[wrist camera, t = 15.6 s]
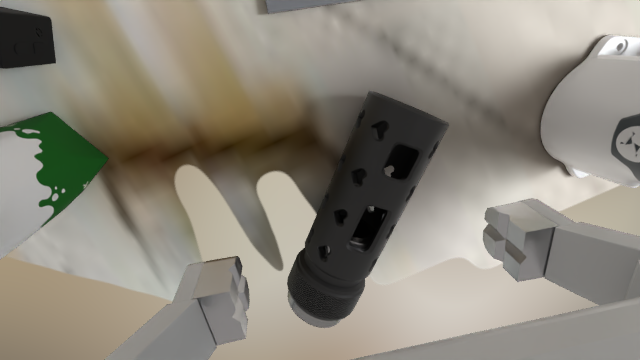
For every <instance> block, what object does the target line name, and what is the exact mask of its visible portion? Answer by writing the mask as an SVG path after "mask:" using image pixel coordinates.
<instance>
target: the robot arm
mask: <svg viewBox="0 0 640 360" xmlns="http://www.w3.org/2000/svg"><path fill="white" fill-rule="evenodd" d="M616 47H617V48H616ZM541 139H542V143H543V145H544V147H545V149H546V151H547V152H548V153H549V154H550V155H551V156H552V157H553V158H555V159H557V160H559V161H560V162H562V163H563V164H565V166H566V168H567V170H568V172H569V173H570V174H571V175H572V176H575V177H578V178H582V177H586V176H588V175H594V176H597V177H599V178H602V179H605V180H608V181H611V182H614V183H617V184H620V185H623V186H627V187H631V188H636V187H637V186H640V37H632V36H618V35H607V36H605V37H603V38H602V39H601V40H600V41H599V42H598V43H597V44H596V46H595V47H594V48H593V50H592V51H591V53H590V54H589V56H588V57H587V58H586V59H585V60H584V61H583V62H582V63H581V64H580V65H579V66H577V67H576V68H575V69H574V70H572V71H571V72H570V73H569V74H568V75H567V76H566V77H565V78H564V79H563V80H562V81H561V82H560V83H559V85H558V86H557V87H556V89H555V90H554V92H553V93H552V95H551V96H550V98H549V100H548V102H547V104H546V107H545V109H544V112H543V116H542V120H541ZM485 220H486V222H487V223H488V225H487V226H486V228H485V229H484V230H483V241H484V245H485V248H486V249H487V251H488V253H489V254H490V255H491V256H492V257H493V258H495V259H497V260H500V261H502V262H503V268H504V269H505V270H506V271H507V272H508V273H509V274H510V275H511V276H512V277H513V278H514V279H515V280H516V281H517V282H519V281H525V280H530V279H536V278H541V277H545V279H547V280H549V281H551V282H553V283H555V284H557V285H559V286H561V287H563V288H565V289H567V290H570V291H571V292H573V293H575V294H577V295H579V296H581V297H584V298H586V299H588V300H590V301H592V302H594V303H596V304H598V305H600V306H595V307H591V308H586V309H582V310H578V311H573V312H568V313H564V314H559V315H554V316H550V317H545V318H540V319H536V320H531V321H526V322H522V323H517V324H512V325H508V326H503V327H498V328H494V329H489V330H484V331H480V332H475V333H470V334H466V335H462V336H457V337H452V338H448V339H443V340H439V341H434V342H429V343H425V344H420V345H415V346H411V347H406V348H402V349H397V350H392V351H388V352H383V353H379V354H374V355H370V356H365V357H360V358H356V359H351V360H640V236H637V235H633V234H628V233H624V232H620V231H616V230H612V229H608V228H604V227H600V226H596V225H591V224H587V223H583V222H579V223H576V222H574V221H572V220H571V219H569V218H567V217H566V216H564V215H563V214H561V213H559V212H558V211H556V210H554V209H553V208H551V207H549V206H548V205H546V204H544V203H543V202H541V201H539V200H538V199H533V198H531V199H527V200H522V201H518V202H515V203H510V204H505V205H500V206H496V207H491V208H487V210H486V212H485ZM241 272H242V264H241V261H240V258H239V257H238V256H235V257H228V258H222V259H217V260H211V261H206V262H200V263H194V264H190V265H188V266H187V267H186V270H185V272H184V275H183V277H182V280H181V282H180V285H179V287H178V290H177V292H176V295H175V297H174V300H173V302H172V304H167V305H166V306H165V307H164V308H163V309H161V310H160V311H159V312H158V313H157V314H156V315H155V316H153V317H152V318H151V319H150V320H149V321H148V322H147V323H145V324H144V325H143V326H142V327H141V328H140V329H139V330H137V332H135V333H134V334H133V335H132V336H131V337H129V338H128V339H127V340H126V341H125V342H124V343H123V344H122V345H120V346H119V347H118V348H117V349H116V350H115V351H114V352H112V353H111V354H110V355H109V356H108V357H107V358H106V359H104V360H208V359H209V358H210V356H211V355H212V353H213V352H214V350H215V349H216V345H221V344H224V343H229V342H233V341H237V340H242V339H245V338H246V330H247V321H248V319H247V316H246V313H245V311H247V309H248V308H249V289H248V284H247V280H246V278H245V277H244V276H243V275H241Z"/></svg>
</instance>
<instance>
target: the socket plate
mask: <svg viewBox="0 0 640 360" xmlns="http://www.w3.org/2000/svg"><path fill="white" fill-rule="evenodd" d="M353 1H360V0H266V4H267V10H268V14H272V13H278V12H285V11H292V10H299V9H305V8H312V7H319V6H326V5H332V4H339V3H346V2H353Z"/></svg>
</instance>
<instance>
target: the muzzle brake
mask: <svg viewBox="0 0 640 360" xmlns="http://www.w3.org/2000/svg"><path fill="white" fill-rule="evenodd" d="M448 126H449V124H448V123H447V122H445V121H443V120H441V119H439V118H437V117H435V116H432V115H430V114H428V113H426V112H423V111H421V110H419V109H416V108H414V107H412V106H409V105H407V104H404V103H402V102H399V101H397V100H394V99H392V98H389V97H387V96H384V95H382V94H379V93H376V92H373V91H370V92H369V93H368V95H367V98H366V100H365V102H364V105H363V107H362V110H361V112H360V114H359V117H358V119H357V121H356V124H355V126H354V128H353V131H352V133H351V136H350V138H349V140H348V143H347V145H346V147H345V150H344V152H343V154H342V157H341V159H340V161H339V164H338V166H337V169H336V171H335V173H334V176H333V178H332V180H331V183H330V185H329V187H328V190H327V192H326V195H325V197H324V199H323V202H322V204H321V206H320V209H319V211H318V213H317V216H316V218H315V220H314V223H313V225H312V228H311V230H310V233H309V235H308V237H307V239H306V242H305V248H304V249H303V250H301V251H300V252H299V254H298V255H297V257H296V260H295V262H294V264H293V267H292V270H291V272H290V274H289V276H288V282H287V284H288V290H289V291H288V301H289V304H290V306H291V308H292V310H293V311H294V312H295V314H296V315H297V316H298V317H299V318H301V319H302V320H303V321H305V322H307V323H308V324H310V325H313V326H316V327H321V328H327V327H332V326H334V325H336V324H337V323H339V322H340V320H341V319H343V318H345V317H346V316H348V315H349V314H350V313H351V312H352V311H353V309H354V307H355V305H356V304H357V302H358V300H359V298H360V296H361V294H362V292H363V290H364V287H365V278H366V277H367V276H368V275H369V274H370V272H371V271H372V269H373V267H374V265H375V263H376V261H377V259H378V258H379V256H380V254H381V252H382V250H383V248H384V246H385V244H386V243H387V241H388V239H389V237H390V235H391V233H392V231H393V229H394V227H395V226H396V224H397V222H398V220H399V218H400V216H401V214H402V213H403V211H404V209H405V207H406V205H407V203H408V201H409V199H410V198H411V196H412V194H413V191H414V190H415V188H416V186H417V184H418V183H419V181H420V179H421V177H422V175H423V173H424V171H425V169H426V168H427V166H428V164H429V162H430V160H431V158H432V156H433V154H434V153H435V150H436V149H437V147H438V145H439V143H440V141H441V139H442V138H443V136H444V134H445V132H446V130H447V128H448ZM390 165H392V166H393V167H394V171H393V172H392V173H391V177H389V176H387V175H386V174H385V171H384V168H386V167H388V166H390ZM369 206H374V211H372V210H370V208H369Z"/></svg>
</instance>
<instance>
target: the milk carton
mask: <svg viewBox="0 0 640 360" xmlns="http://www.w3.org/2000/svg"><path fill="white" fill-rule="evenodd" d="M108 159H109V158H108V157H106V156H105V155H104V154H103V153H101V152H100V151H99V150H98V149H97V148H95V147H94V146H93V145H92V144H90V143H89V142H88V141H87V140H85V139H84V138H83V137H82V136H81V135H79V134H78V133H77V132H76V131H74V130H73V129H72V128H71V127H70V126H68V125H67V124H66V123H65V122H63V121H62V120H61V119H60V118H58V117H57V116H56V115H55V114H54V113H52V112H49V113H46V114H43V115H39V116H36V117H33V118H30V119H27V120H23V121H20V122H17V123H13V124H10V125H7V126H4V127H1V128H0V259H1V258H3V257H4V256H5V255H7V254H8V253H9V252H11V251H12V250H14V249H15V248H16V247H18V246H19V245H20V244H21V243H23V242H24V241H25V240H26V239H28V238H29V237H30V236H31V235H33V234H34V233H35V232H36V231H38V230H39V229H40V228H41V227H43V226H44V225H45V224H46V223H48V222H49V221H50V220H51V219H53V218H54V217H55V216H56V215H58V214H59V213H60V212H61V211H63V210H64V209H65V208H66V207H67V206H68V205H69V204H70V203H71V202H72V201H73V200H74V199H75V198H76V197H77V196H78V195H79V194H80V193H81V192H82V191H83V190H84V189H85V188H86V187H87V185H88V184H89V183H90V182H91V180H92V179H93V178H94V177H95V175H96V174H97V173H98V172H99V170H100V169H101V168H102V166H103V165H104V164H105V163H106V161H107V160H108Z"/></svg>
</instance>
